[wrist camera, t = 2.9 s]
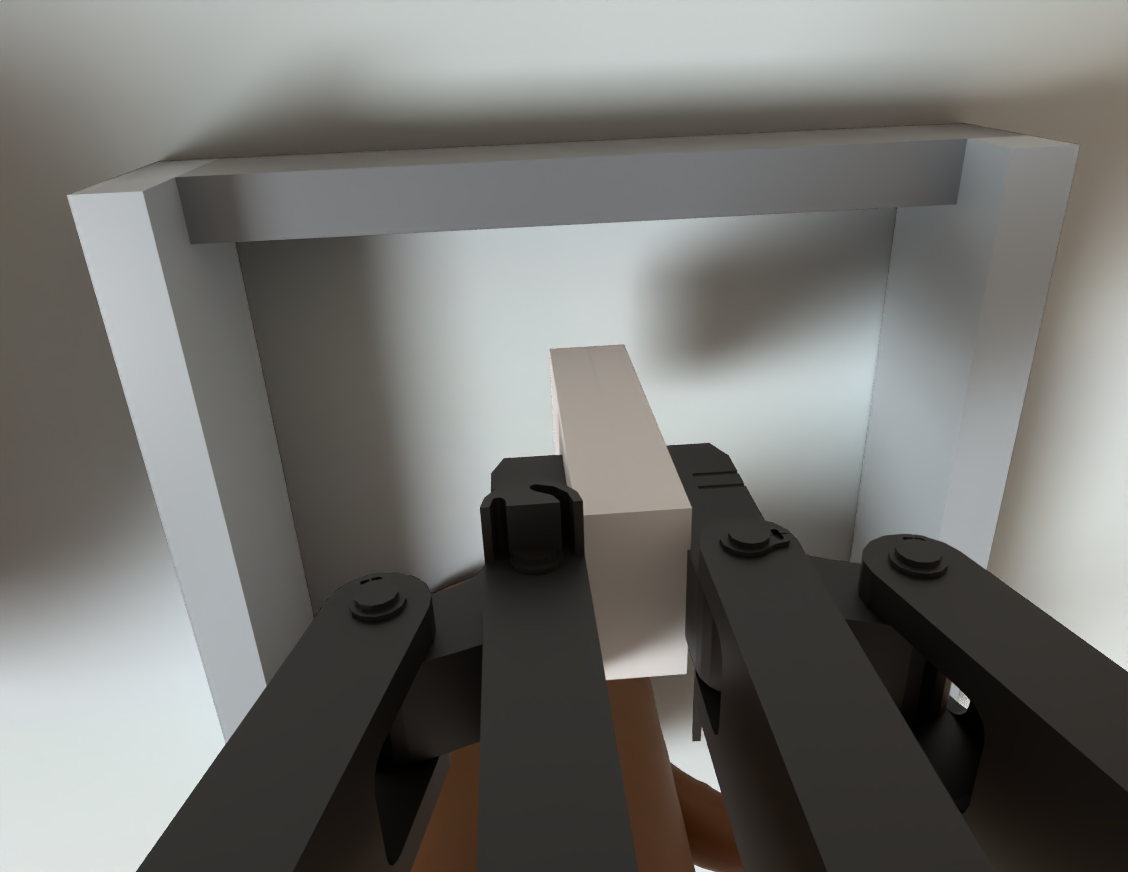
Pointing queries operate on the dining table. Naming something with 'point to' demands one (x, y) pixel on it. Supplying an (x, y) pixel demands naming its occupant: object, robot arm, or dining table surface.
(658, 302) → the dining table surface
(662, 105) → the dining table surface
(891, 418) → the u-shaped frame
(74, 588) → the dining table surface
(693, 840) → the mug
